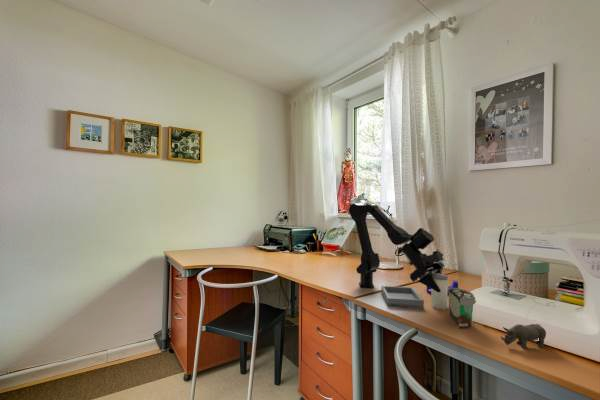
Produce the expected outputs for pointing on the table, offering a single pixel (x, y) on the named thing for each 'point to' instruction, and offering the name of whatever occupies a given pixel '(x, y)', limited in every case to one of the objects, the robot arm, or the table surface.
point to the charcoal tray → (402, 297)
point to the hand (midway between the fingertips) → (443, 290)
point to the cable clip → (454, 285)
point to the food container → (461, 307)
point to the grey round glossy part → (440, 297)
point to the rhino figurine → (525, 335)
